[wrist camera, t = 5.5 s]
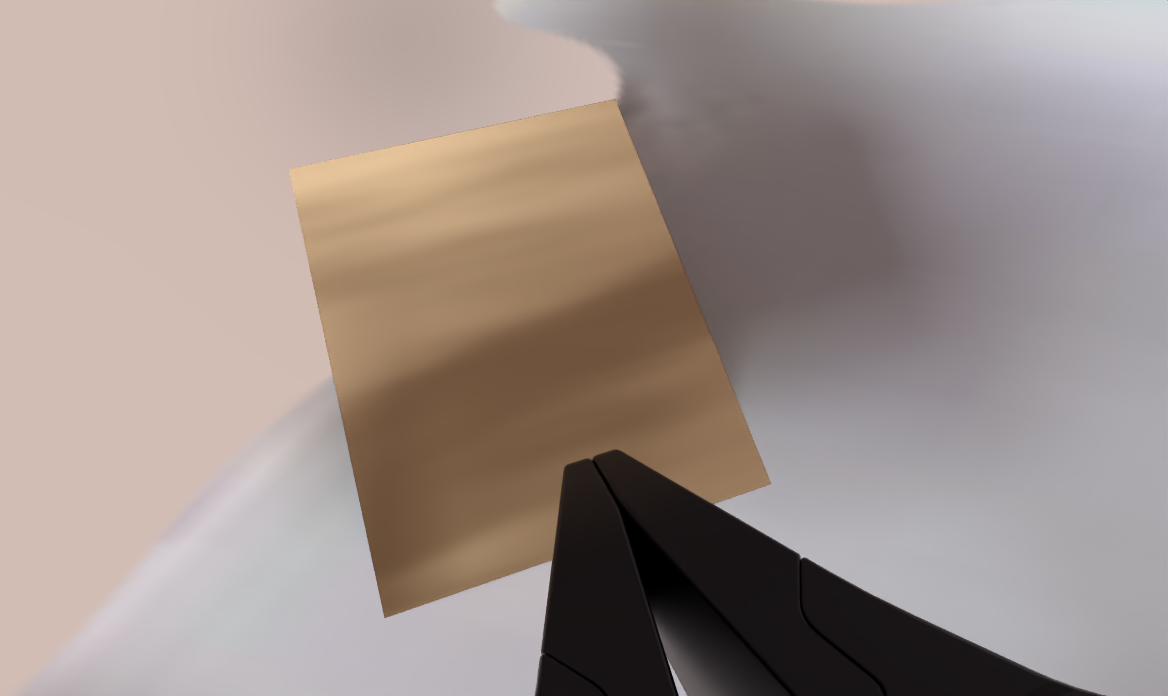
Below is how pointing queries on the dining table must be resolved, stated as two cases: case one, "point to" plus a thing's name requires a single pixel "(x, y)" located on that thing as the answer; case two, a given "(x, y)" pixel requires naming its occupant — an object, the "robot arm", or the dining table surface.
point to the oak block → (507, 341)
